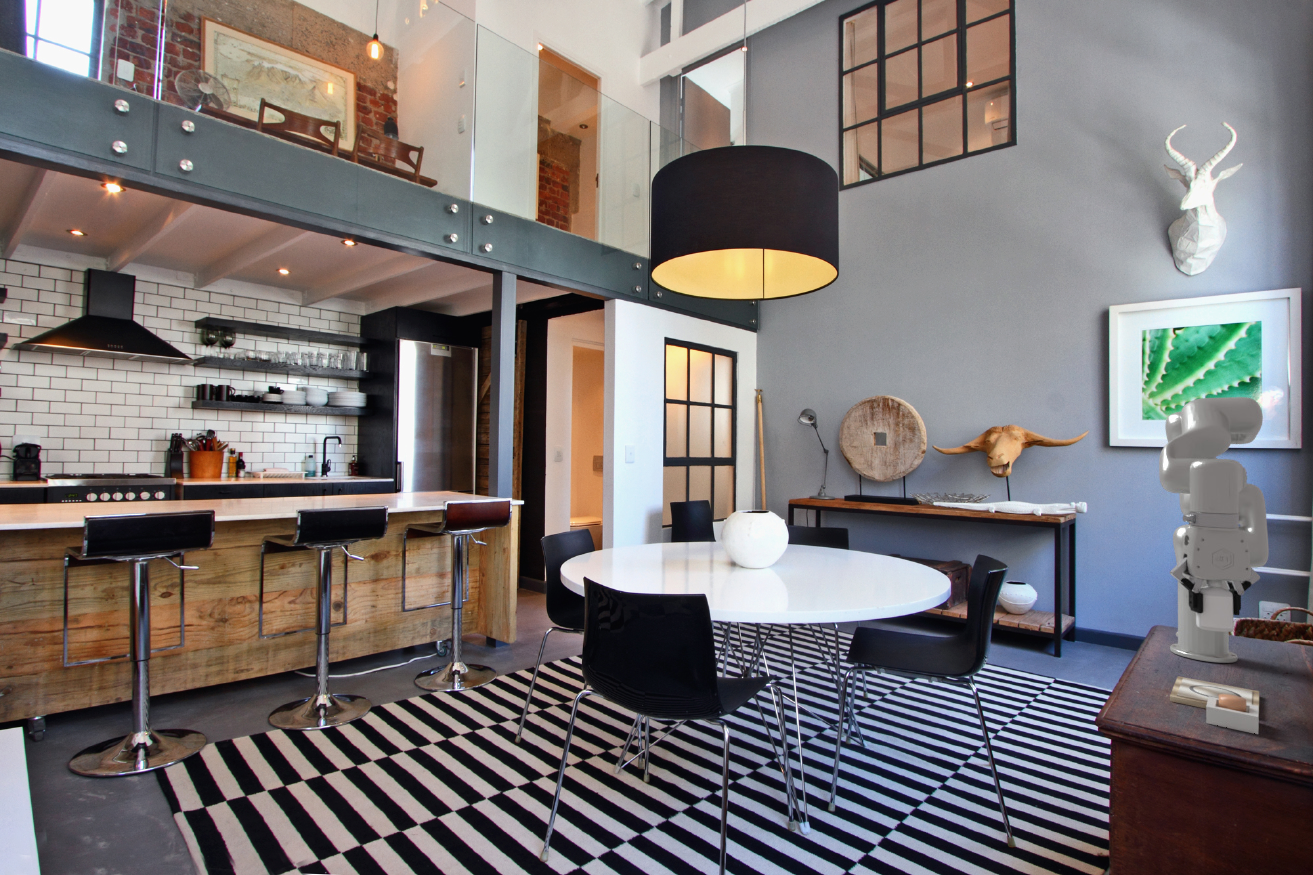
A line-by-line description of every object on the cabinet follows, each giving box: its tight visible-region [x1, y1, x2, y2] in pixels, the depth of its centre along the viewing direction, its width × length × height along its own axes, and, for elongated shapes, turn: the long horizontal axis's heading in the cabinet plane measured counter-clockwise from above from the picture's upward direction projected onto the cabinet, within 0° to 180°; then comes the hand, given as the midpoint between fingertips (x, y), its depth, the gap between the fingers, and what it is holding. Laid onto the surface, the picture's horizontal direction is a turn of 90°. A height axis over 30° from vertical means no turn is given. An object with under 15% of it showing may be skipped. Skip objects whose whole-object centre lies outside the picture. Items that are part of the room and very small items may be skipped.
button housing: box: [1205, 696, 1260, 735], centre depth 122 cm, size 7×7×3 cm
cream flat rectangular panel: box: [1169, 676, 1260, 709], centre depth 134 cm, size 16×13×1 cm
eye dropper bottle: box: [1196, 580, 1235, 633], centre depth 134 cm, size 4×6×12 cm
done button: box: [1219, 694, 1246, 712], centre depth 122 cm, size 4×4×2 cm
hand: (1214, 611), depth 134 cm, fingers closed on eye dropper bottle, 5 cm apart
